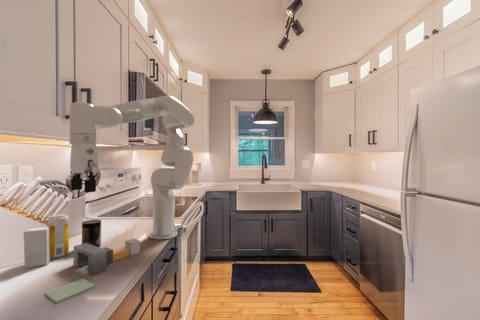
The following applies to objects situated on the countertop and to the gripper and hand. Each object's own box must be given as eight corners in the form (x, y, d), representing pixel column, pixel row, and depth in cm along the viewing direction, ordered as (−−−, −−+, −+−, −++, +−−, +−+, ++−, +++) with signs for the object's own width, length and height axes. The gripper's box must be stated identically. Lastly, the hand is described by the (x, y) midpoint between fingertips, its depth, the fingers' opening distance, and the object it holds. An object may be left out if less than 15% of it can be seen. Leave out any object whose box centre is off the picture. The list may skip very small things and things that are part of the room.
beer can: (65, 251, 91) (65, 212, 91) (70, 255, 88) (70, 214, 88) (45, 256, 87) (46, 215, 87) (50, 260, 83) (50, 217, 83)
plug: (133, 250, 93) (133, 238, 93) (140, 252, 91) (140, 240, 91) (95, 263, 81) (95, 249, 81) (102, 266, 79) (102, 252, 79)
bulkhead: (86, 261, 83) (86, 242, 83) (106, 270, 76) (106, 250, 76) (73, 265, 79) (73, 246, 79) (92, 275, 72) (93, 254, 72)
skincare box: (50, 260, 83) (50, 225, 83) (47, 265, 79) (47, 229, 79) (27, 263, 80) (27, 228, 80) (23, 269, 76) (23, 231, 76)
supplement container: (95, 250, 93) (96, 223, 93) (77, 250, 92) (77, 223, 92) (104, 244, 100) (104, 219, 100) (87, 244, 99) (87, 219, 99)
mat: (82, 280, 70) (82, 278, 70) (94, 287, 66) (95, 285, 66) (45, 294, 62) (45, 292, 62) (56, 303, 58) (56, 301, 58)
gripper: (108, 139, 78) (107, 191, 78) (83, 141, 88) (83, 188, 88) (82, 138, 72) (82, 194, 72) (59, 140, 81) (59, 190, 82)
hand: (83, 190), depth 80 cm, fingers open, 9 cm apart
